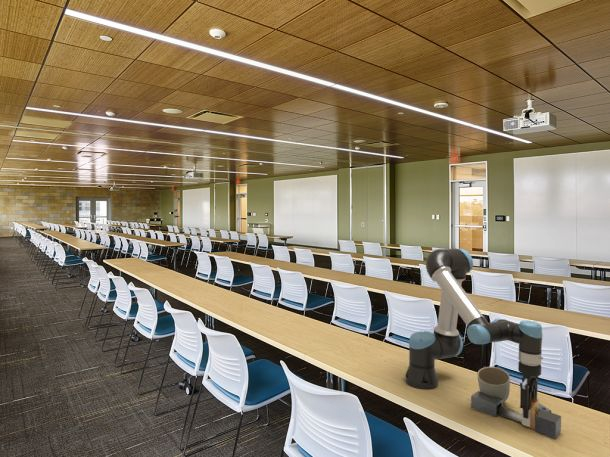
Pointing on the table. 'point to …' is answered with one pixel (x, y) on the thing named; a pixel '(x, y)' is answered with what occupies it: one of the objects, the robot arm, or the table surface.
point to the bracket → (543, 408)
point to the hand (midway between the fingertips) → (528, 423)
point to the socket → (548, 424)
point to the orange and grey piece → (517, 415)
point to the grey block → (485, 403)
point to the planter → (494, 382)
